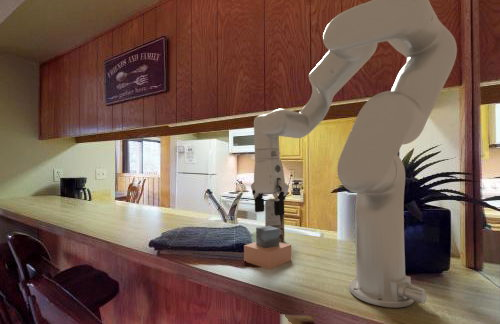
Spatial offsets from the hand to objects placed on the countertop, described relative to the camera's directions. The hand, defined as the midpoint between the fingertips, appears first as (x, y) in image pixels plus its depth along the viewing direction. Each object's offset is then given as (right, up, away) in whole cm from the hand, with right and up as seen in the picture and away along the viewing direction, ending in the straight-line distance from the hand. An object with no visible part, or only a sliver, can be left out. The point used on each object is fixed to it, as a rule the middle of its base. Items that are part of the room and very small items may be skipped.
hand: (269, 213), depth 80 cm
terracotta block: (0, -15, 0) cm, 15 cm away
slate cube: (0, -10, 0) cm, 10 cm away
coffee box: (+4, -15, +19) cm, 25 cm away
